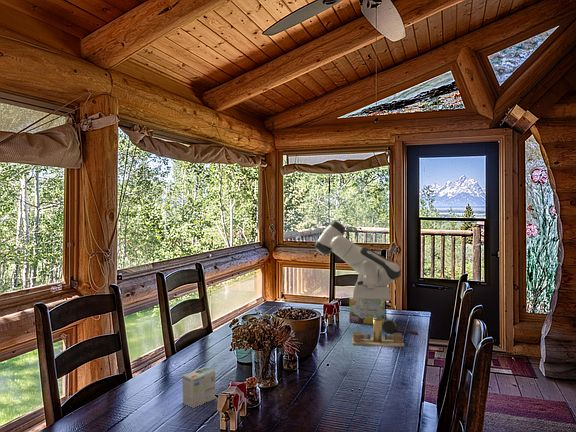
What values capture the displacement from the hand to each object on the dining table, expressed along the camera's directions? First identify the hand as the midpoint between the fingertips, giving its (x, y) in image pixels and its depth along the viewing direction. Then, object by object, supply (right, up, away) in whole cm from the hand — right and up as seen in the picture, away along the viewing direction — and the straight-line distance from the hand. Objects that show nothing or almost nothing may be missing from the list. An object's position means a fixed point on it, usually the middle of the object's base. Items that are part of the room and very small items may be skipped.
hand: (371, 307), depth 234 cm
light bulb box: (-78, -19, -76) cm, 110 cm away
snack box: (+3, -16, +30) cm, 35 cm away
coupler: (+1, -16, -9) cm, 18 cm away
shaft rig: (+1, -17, -9) cm, 19 cm away
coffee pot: (+18, -17, +8) cm, 26 cm away
